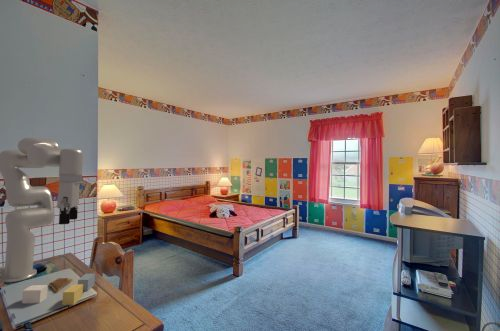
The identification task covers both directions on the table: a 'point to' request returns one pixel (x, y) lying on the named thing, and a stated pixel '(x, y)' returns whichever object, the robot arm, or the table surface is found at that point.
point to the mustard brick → (72, 294)
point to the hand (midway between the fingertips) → (68, 221)
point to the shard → (60, 283)
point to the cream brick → (35, 294)
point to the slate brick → (87, 281)
